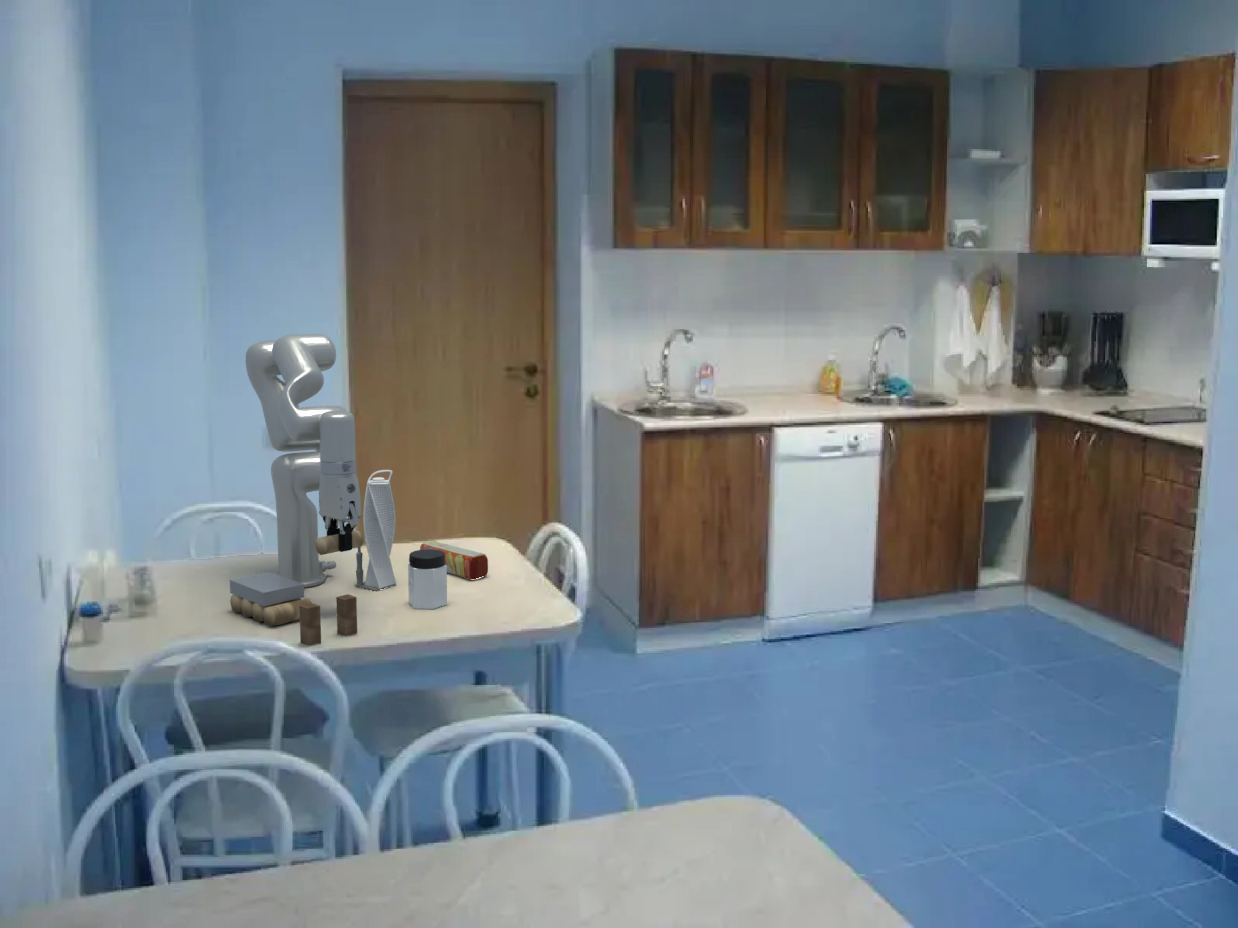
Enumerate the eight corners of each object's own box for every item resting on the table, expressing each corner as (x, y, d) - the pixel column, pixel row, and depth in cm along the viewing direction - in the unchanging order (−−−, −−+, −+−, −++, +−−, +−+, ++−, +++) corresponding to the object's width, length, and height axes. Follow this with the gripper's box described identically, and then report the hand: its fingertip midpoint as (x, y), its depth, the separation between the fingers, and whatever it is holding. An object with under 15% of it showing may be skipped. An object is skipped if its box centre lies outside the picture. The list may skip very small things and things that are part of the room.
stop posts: (349, 630, 271) (348, 594, 270) (357, 633, 269) (356, 597, 268) (300, 642, 263) (299, 605, 261) (308, 645, 261) (307, 608, 259)
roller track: (270, 601, 290) (269, 584, 290) (313, 618, 278) (313, 600, 278) (230, 610, 283) (230, 592, 282) (273, 628, 271) (273, 609, 271)
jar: (405, 600, 293) (404, 550, 291) (439, 597, 296) (438, 547, 294) (415, 611, 285) (415, 560, 283) (450, 607, 288) (450, 556, 286)
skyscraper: (380, 579, 311) (378, 467, 305) (403, 584, 306) (402, 471, 301) (354, 586, 304) (352, 472, 299) (378, 592, 299) (376, 476, 294)
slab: (269, 584, 290) (269, 571, 289) (304, 597, 280) (303, 584, 280) (230, 592, 282) (229, 579, 282) (264, 606, 273) (263, 592, 272)
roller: (353, 545, 286) (353, 528, 285) (363, 548, 283) (363, 532, 282) (315, 552, 278) (315, 536, 278) (325, 556, 276) (325, 539, 275)
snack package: (417, 566, 324) (416, 540, 323) (438, 561, 329) (437, 536, 327) (469, 583, 309) (469, 556, 308) (490, 578, 314) (490, 551, 313)
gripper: (374, 471, 274) (376, 553, 278) (330, 460, 285) (332, 539, 289) (345, 475, 269) (347, 559, 272) (301, 464, 280) (303, 544, 284)
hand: (339, 547), depth 281 cm, fingers closed on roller, 3 cm apart
